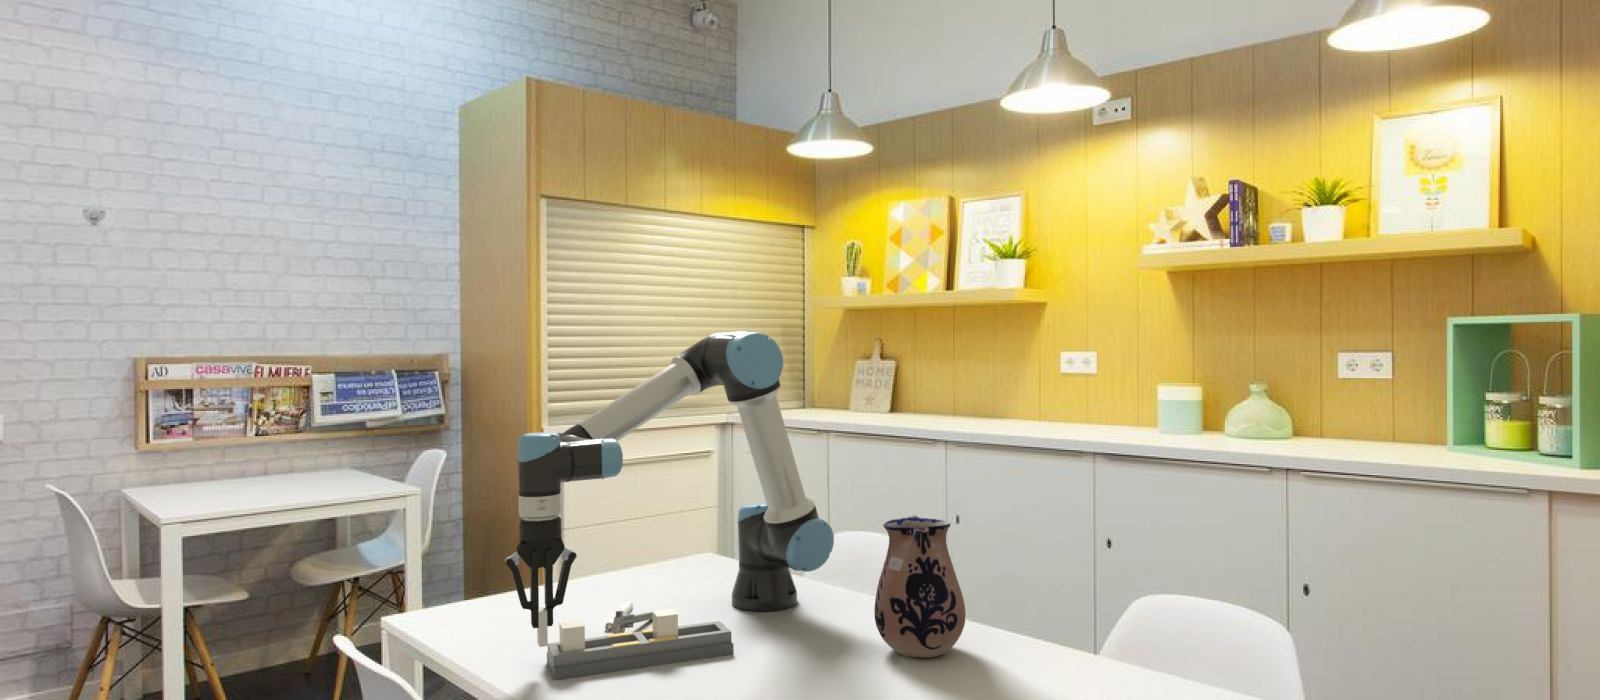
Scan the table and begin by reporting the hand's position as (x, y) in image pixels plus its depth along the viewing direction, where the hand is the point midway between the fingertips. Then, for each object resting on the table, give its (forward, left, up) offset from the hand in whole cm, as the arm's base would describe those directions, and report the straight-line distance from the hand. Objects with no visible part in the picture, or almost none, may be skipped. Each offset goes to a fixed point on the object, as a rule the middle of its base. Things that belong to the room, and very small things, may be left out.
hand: (542, 644), depth 176 cm
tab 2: (-23, 0, -3) cm, 23 cm away
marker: (-20, -28, -6) cm, 35 cm away
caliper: (-22, -19, -6) cm, 30 cm away
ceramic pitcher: (-69, +17, -5) cm, 72 cm away
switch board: (-18, 0, -5) cm, 19 cm away
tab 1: (-5, 0, -3) cm, 6 cm away
